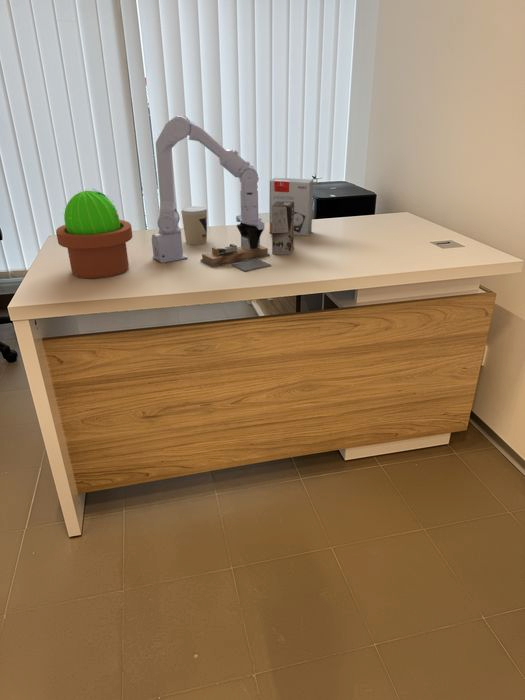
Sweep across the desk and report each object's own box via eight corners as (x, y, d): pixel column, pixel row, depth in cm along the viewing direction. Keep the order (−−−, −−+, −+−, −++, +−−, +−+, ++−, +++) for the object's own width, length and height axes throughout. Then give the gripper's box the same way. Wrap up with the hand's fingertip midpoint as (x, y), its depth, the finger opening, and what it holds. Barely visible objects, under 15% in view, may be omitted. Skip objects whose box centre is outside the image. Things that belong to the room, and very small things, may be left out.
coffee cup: (207, 244, 189) (205, 211, 183) (181, 245, 189) (178, 211, 184) (210, 238, 197) (208, 206, 192) (185, 238, 197) (183, 206, 192)
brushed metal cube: (247, 250, 172) (247, 238, 170) (241, 247, 175) (240, 236, 173) (260, 248, 175) (259, 236, 173) (253, 245, 178) (253, 233, 176)
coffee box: (290, 254, 176) (290, 206, 168) (271, 254, 177) (271, 205, 170) (294, 247, 184) (294, 201, 176) (276, 246, 185) (276, 200, 178)
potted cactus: (62, 285, 152) (45, 197, 141) (66, 263, 171) (50, 184, 159) (139, 277, 157) (128, 192, 146) (134, 257, 176) (124, 180, 165)
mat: (244, 271, 160) (244, 270, 160) (231, 265, 166) (231, 264, 166) (271, 265, 165) (271, 264, 165) (257, 259, 171) (257, 258, 171)
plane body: (212, 267, 165) (211, 252, 163) (200, 261, 171) (199, 247, 169) (269, 255, 175) (269, 241, 173) (256, 250, 181) (256, 236, 179)
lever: (217, 253, 169) (224, 253, 165) (216, 248, 169) (223, 248, 164) (230, 251, 172) (238, 251, 167) (229, 246, 171) (237, 246, 167)
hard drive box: (268, 233, 202) (268, 180, 193) (274, 229, 208) (274, 177, 199) (308, 236, 197) (309, 181, 188) (312, 231, 204) (313, 178, 195)
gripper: (272, 207, 165) (272, 249, 171) (248, 200, 176) (249, 240, 182) (253, 210, 162) (254, 253, 168) (230, 203, 173) (231, 243, 179)
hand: (250, 246), depth 175 cm, fingers closed on brushed metal cube, 4 cm apart
